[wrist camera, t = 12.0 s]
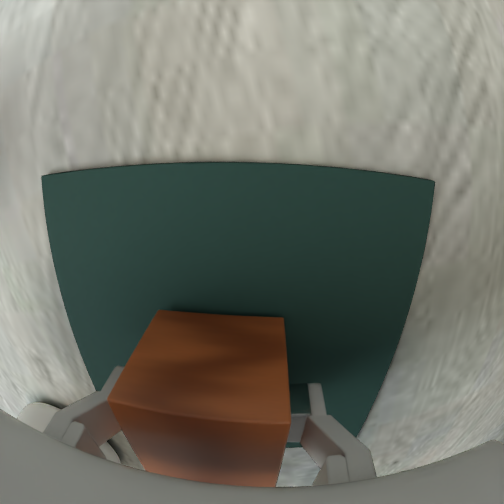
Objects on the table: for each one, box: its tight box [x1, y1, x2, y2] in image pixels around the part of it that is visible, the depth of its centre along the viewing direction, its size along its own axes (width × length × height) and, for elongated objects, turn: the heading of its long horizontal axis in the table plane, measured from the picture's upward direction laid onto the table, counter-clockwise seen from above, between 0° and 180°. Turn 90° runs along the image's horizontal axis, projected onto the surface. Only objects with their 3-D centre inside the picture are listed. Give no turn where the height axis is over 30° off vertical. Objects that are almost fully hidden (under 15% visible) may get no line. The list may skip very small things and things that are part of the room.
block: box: [107, 310, 291, 487], centre depth 9 cm, size 5×5×5 cm
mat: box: [41, 162, 435, 448], centre depth 12 cm, size 16×16×1 cm
